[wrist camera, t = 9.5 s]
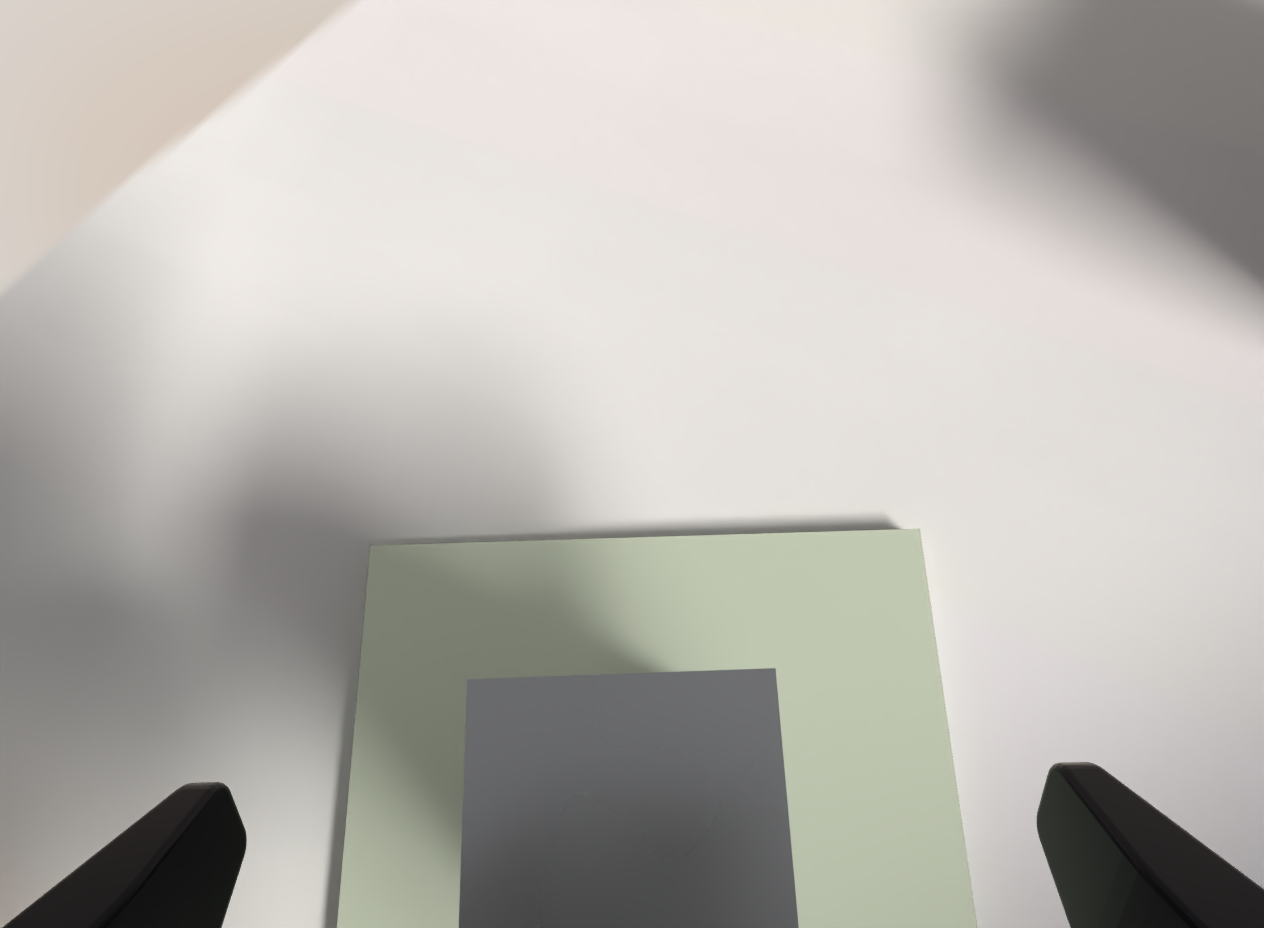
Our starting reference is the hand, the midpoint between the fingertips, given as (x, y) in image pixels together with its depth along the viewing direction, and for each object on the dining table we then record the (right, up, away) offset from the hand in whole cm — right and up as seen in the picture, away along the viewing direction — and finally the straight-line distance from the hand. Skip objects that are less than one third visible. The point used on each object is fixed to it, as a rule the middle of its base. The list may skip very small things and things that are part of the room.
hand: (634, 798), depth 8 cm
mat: (0, -4, +7) cm, 8 cm away
